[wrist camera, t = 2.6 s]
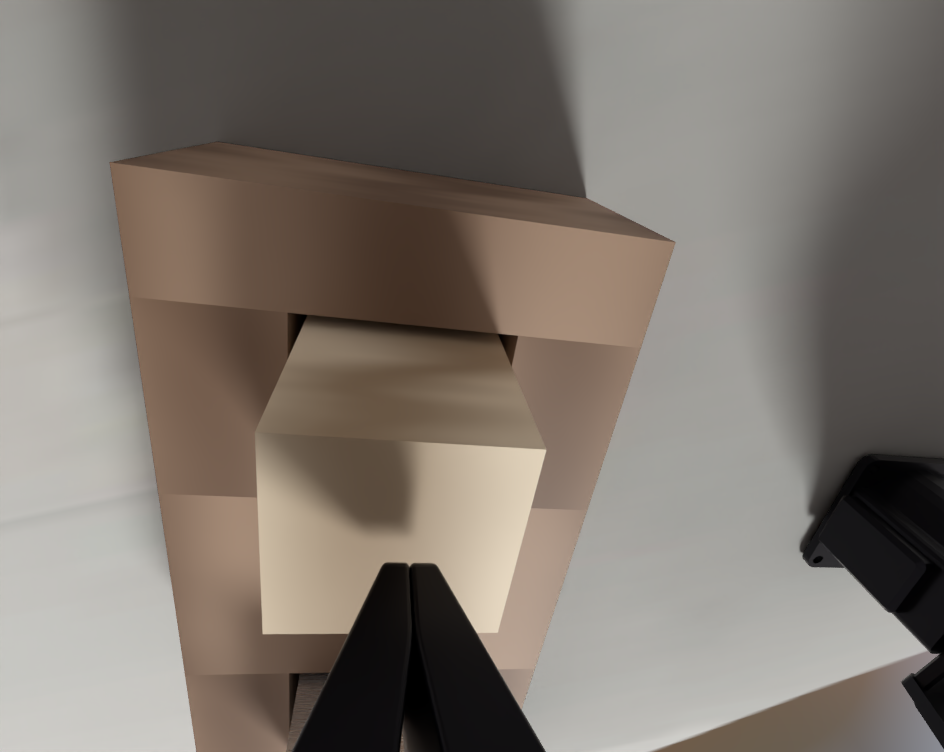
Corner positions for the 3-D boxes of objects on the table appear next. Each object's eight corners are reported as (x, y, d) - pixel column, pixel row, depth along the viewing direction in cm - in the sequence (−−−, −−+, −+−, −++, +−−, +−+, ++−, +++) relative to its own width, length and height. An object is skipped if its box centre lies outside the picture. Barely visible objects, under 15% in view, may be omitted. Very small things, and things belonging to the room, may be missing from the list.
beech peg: (492, 322, 13) (546, 450, 8) (466, 462, 15) (497, 632, 10) (313, 303, 12) (254, 432, 7) (310, 454, 14) (262, 633, 9)
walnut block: (587, 198, 16) (675, 241, 11) (476, 648, 26) (496, 785, 21) (216, 141, 14) (109, 162, 9) (247, 651, 24) (203, 803, 19)
